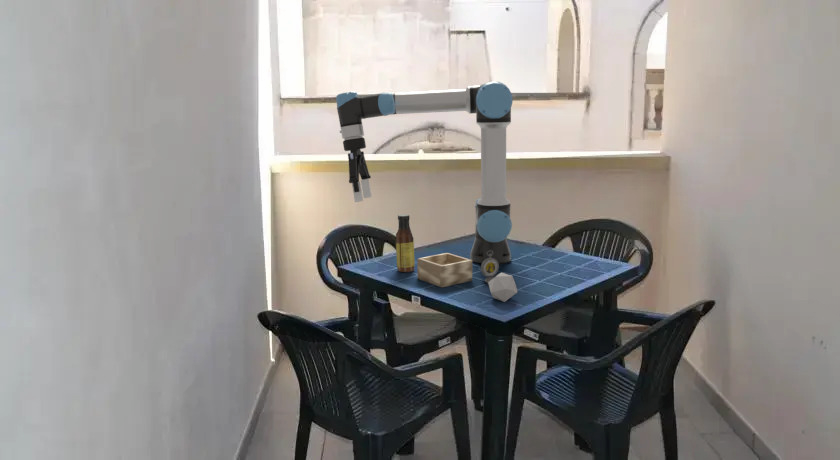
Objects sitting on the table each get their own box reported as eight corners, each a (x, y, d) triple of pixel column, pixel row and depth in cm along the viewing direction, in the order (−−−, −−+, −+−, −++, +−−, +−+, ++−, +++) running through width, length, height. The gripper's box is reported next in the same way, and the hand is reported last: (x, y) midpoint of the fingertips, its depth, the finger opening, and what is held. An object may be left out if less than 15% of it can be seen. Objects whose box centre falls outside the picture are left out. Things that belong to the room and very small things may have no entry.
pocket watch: (499, 286, 218) (500, 256, 216) (476, 282, 223) (477, 253, 221) (510, 280, 225) (511, 251, 223) (487, 276, 230) (488, 248, 228)
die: (522, 302, 204) (519, 273, 208) (510, 295, 197) (507, 264, 201) (498, 308, 208) (495, 279, 212) (485, 301, 201) (482, 271, 205)
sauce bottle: (418, 269, 239) (417, 214, 234) (408, 273, 233) (407, 217, 229) (402, 267, 242) (402, 212, 238) (392, 271, 237) (391, 215, 233)
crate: (447, 272, 235) (447, 252, 234) (472, 280, 225) (472, 260, 224) (417, 278, 228) (417, 258, 226) (441, 287, 217) (441, 266, 216)
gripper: (351, 139, 244) (361, 197, 247) (333, 140, 220) (344, 204, 222) (371, 136, 243) (380, 194, 246) (355, 137, 219) (366, 201, 221)
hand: (363, 199), depth 234 cm, fingers open, 13 cm apart
